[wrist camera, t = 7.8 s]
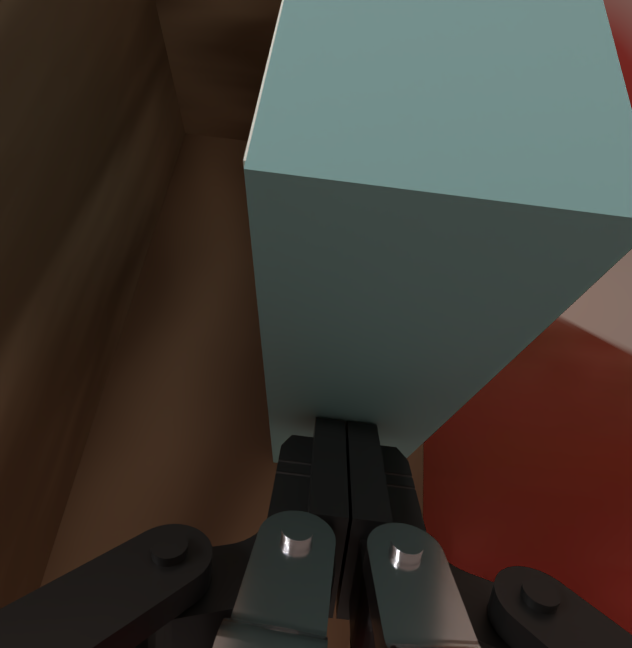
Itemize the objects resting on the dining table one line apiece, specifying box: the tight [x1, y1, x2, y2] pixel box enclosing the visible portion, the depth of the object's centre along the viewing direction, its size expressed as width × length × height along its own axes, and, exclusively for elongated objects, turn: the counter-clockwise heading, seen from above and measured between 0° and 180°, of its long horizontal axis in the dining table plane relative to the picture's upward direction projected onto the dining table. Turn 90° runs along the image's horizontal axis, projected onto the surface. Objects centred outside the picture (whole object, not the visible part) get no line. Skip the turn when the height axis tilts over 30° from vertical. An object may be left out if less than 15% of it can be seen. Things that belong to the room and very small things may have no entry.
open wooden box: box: [0, 0, 423, 648], centre depth 13 cm, size 13×26×14 cm, turn 174°
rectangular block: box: [243, 0, 632, 463], centre depth 13 cm, size 4×11×14 cm, turn 174°
